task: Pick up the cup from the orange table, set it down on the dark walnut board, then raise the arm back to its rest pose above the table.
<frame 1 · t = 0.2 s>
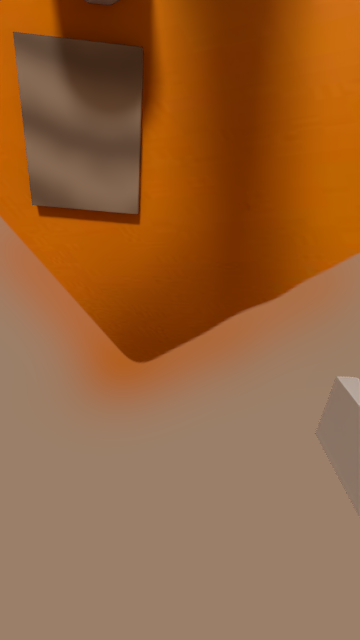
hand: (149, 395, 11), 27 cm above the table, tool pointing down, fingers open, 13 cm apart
walnut board: (85, 134, 31), on the table
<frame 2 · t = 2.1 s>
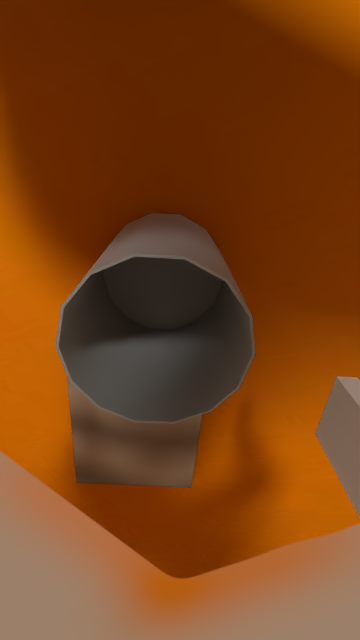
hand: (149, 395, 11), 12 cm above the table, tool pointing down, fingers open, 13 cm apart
walnut board: (137, 421, 28), on the table
cup: (164, 273, 22), on the table
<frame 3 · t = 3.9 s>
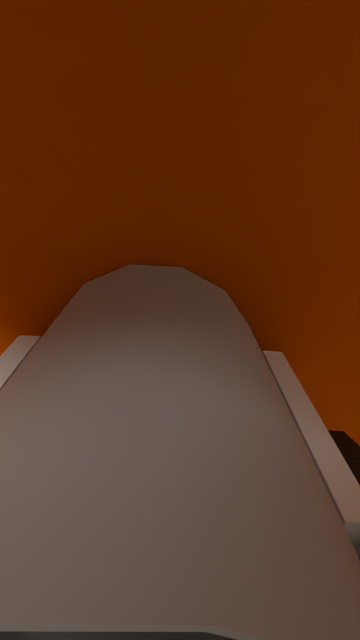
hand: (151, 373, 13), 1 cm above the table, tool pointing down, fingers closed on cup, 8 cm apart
cup: (153, 358, 13), on the table, touching gripper
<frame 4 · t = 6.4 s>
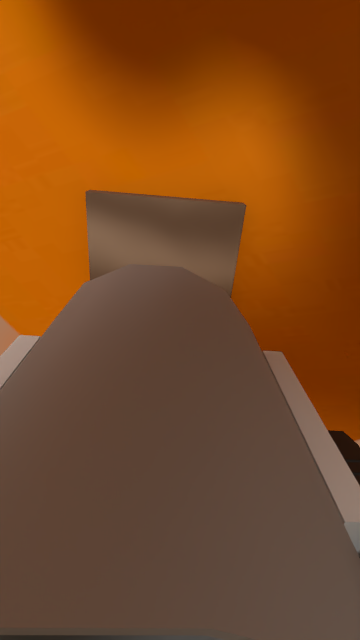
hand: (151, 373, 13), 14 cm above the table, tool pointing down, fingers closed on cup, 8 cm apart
walnut board: (161, 287, 26), on the table
cup: (153, 358, 13), point 13 cm above the table, touching gripper
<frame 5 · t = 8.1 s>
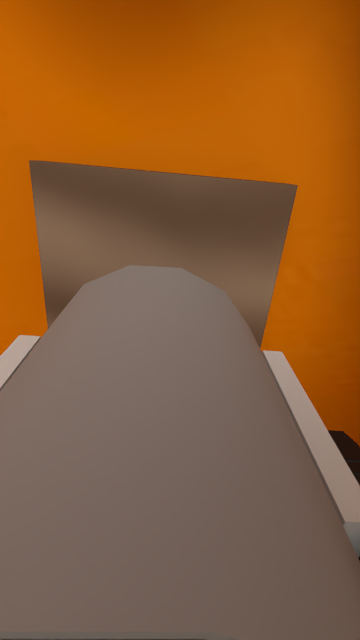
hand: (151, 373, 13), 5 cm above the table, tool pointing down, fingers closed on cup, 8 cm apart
walnut board: (158, 314, 17), on the table
cup: (153, 359, 13), point 4 cm above the table, touching gripper
when the fingers open (4 cm above the table, at t = 9.2 s): cup drops 2 cm, resting on walnut board.
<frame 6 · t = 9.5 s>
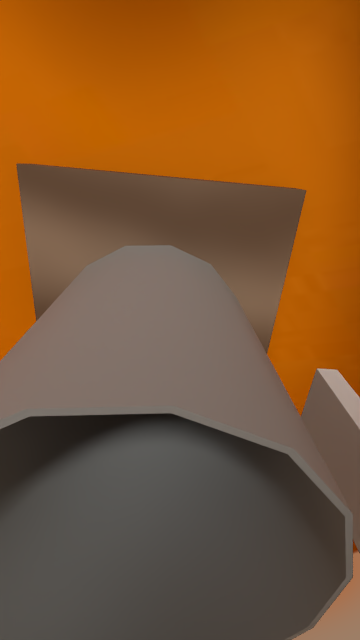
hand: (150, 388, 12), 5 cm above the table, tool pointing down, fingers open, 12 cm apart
walnut board: (156, 326, 16), on the table
cup: (152, 331, 15), point 1 cm above the table, touching walnut board
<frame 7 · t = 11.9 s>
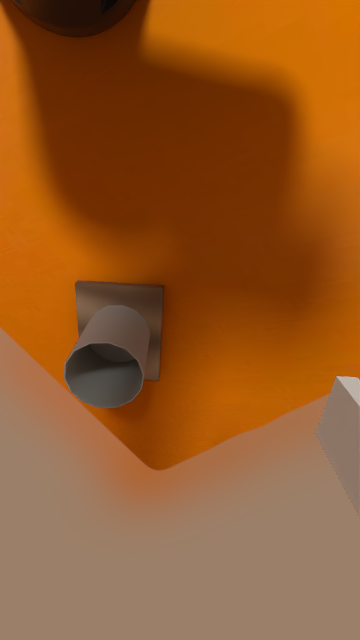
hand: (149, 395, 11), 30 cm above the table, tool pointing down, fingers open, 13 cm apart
walnut board: (121, 331, 44), on the table
cup: (119, 333, 43), point 1 cm above the table, touching walnut board
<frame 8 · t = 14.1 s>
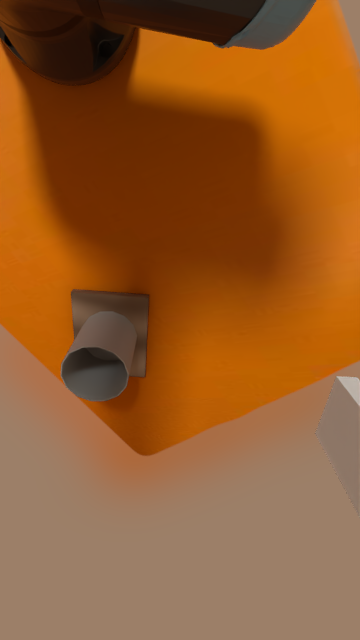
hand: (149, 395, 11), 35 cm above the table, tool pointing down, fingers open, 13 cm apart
walnut board: (111, 333, 49), on the table
cup: (109, 335, 48), point 1 cm above the table, touching walnut board
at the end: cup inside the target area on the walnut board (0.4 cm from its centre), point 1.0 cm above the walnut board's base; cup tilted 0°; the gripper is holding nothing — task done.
